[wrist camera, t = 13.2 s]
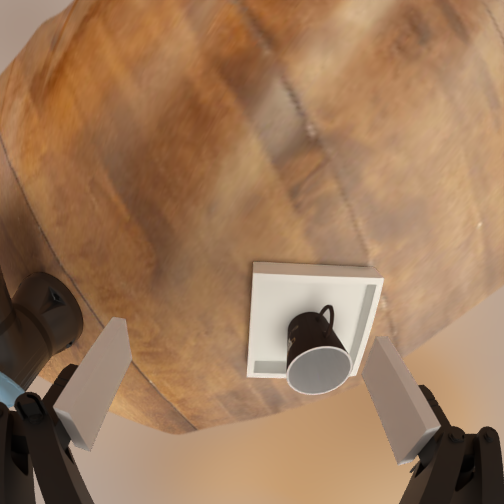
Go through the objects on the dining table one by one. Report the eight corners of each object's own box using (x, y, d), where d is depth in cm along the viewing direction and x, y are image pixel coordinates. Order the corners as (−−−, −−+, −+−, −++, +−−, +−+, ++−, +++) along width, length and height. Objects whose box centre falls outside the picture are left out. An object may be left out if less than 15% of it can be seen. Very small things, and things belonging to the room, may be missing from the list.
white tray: (247, 361, 47) (246, 377, 43) (253, 261, 41) (253, 273, 37) (349, 361, 47) (355, 375, 44) (374, 267, 41) (384, 278, 38)
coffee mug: (311, 358, 46) (322, 401, 36) (269, 336, 44) (272, 381, 35) (358, 306, 42) (381, 344, 33) (315, 279, 41) (332, 316, 31)
